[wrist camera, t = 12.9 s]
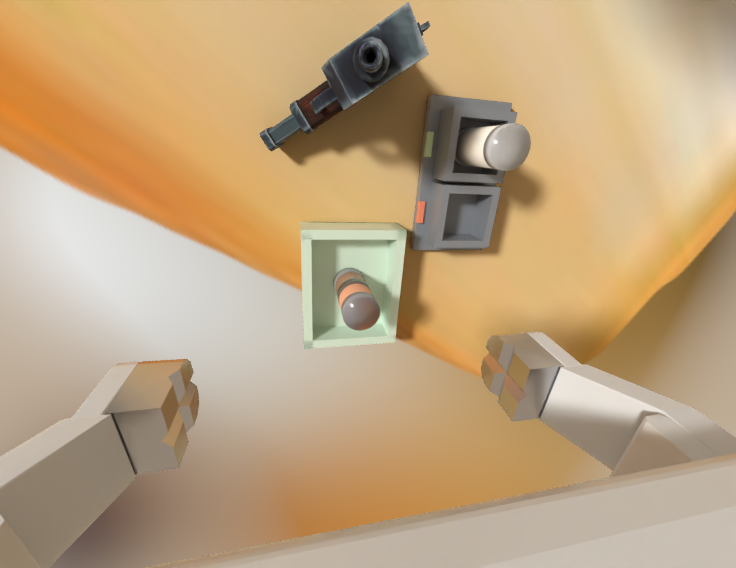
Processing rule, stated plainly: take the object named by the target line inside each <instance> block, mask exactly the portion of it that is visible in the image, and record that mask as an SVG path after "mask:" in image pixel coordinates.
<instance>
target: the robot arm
mask: <svg viewBox="0 0 736 568" xmlns="http://www.w3.org/2000/svg"><path fill="white" fill-rule="evenodd" d="M486 348H487V350H488V351H489V354H488V355H487V356H486V357H485V358H484V359H483V362H482V366H481V372H482V378H483V381H484V383H485V385H486V387H487V388H488V389H489V391H491V392H492V393H494V394H496V395H498V396H499V400H498V403H499V404H500V406H501V407H502V408H503V410H504V411H505V412H506V414H507V415H508V417H509V418H510V419H511V421H521V420H530V419H539V418H540V420H541V421H542V422H543V423H545V424H546V425H548V426H549V427H550V428H552V429H553V430H555V431H556V432H558V433H559V434H561V435H562V436H563V437H565V438H566V439H568V440H569V441H571V442H572V443H574V444H575V445H576V446H578V447H579V448H581V449H582V450H584V451H585V452H587V453H588V454H589V455H591V456H592V457H594V458H595V459H597V460H598V461H600V462H601V463H602V464H604V465H605V466H607V467H608V468H610V469H611V470H613V472H612V473H611V475H610V477H609V478H604V479H598V480H593V481H588V482H583V483H578V484H573V485H568V486H562V487H557V488H552V489H547V490H542V491H537V492H532V493H526V494H521V495H516V496H511V497H506V498H501V499H496V500H491V501H485V502H481V503H475V504H470V505H465V506H460V507H455V508H449V509H444V510H439V511H434V512H429V513H423V514H419V515H413V516H408V517H403V518H398V519H393V520H387V521H382V522H378V523H372V524H367V525H362V526H356V527H352V528H346V529H341V530H336V531H331V532H325V533H320V534H315V535H310V536H305V537H300V538H294V539H289V540H284V541H279V542H274V543H269V544H263V545H258V546H253V547H248V548H243V549H238V550H232V551H228V552H222V553H217V554H212V555H207V556H201V557H196V558H191V559H186V560H181V561H176V562H170V563H165V564H160V565H155V566H150V567H145V568H736V438H735V437H734V436H732V435H731V434H730V433H728V432H727V431H725V430H724V429H722V428H721V427H720V426H718V425H717V424H715V423H714V422H713V421H711V420H710V419H708V418H707V417H706V416H704V415H703V414H701V413H700V412H699V411H697V410H696V409H694V408H692V407H690V406H688V405H685V404H683V403H680V402H678V401H675V400H673V399H670V398H668V397H666V396H663V395H661V394H658V393H656V392H653V391H651V390H648V389H646V388H644V387H641V386H639V385H636V384H634V383H631V382H629V381H626V380H624V379H621V378H619V377H616V376H614V375H612V374H609V373H607V372H604V371H602V370H599V369H597V368H595V367H592V366H589V365H587V364H584V365H582V364H580V363H579V362H578V361H577V360H576V359H574V358H573V357H572V356H571V355H570V354H568V353H567V352H566V351H565V350H564V349H562V348H561V347H560V346H559V345H557V344H556V343H555V342H554V341H553V340H551V339H550V338H549V337H548V336H547V335H545V334H544V333H542V332H539V331H532V332H523V333H518V334H505V335H493V336H491V337H490V338H489V340H488V342H487V346H486ZM192 374H193V368H192V365H191V362H190V361H189V360H188V359H178V360H161V361H144V362H130V363H118V364H116V365H114V366H112V367H111V368H110V370H109V371H108V372H107V374H106V375H105V376H104V377H103V378H102V380H101V381H100V382H99V384H98V385H97V386H96V387H95V389H94V390H93V391H92V393H91V394H90V395H89V396H88V398H87V399H86V400H85V402H84V403H83V404H82V405H81V407H80V408H79V409H78V410H77V412H76V413H75V414H74V416H73V417H72V418H69V419H62V420H61V421H59V422H57V423H56V424H54V425H52V426H51V427H49V428H47V429H46V430H44V431H42V432H41V433H39V434H37V435H36V436H34V437H32V438H31V439H29V440H27V441H26V442H24V443H23V444H21V445H19V446H17V447H16V448H14V449H12V450H11V451H9V452H8V453H6V454H4V455H2V456H1V457H0V568H49V567H50V566H51V565H52V564H53V563H54V562H55V561H56V560H57V559H58V558H59V557H60V556H61V555H62V553H64V552H65V551H66V550H67V549H68V548H69V547H70V546H71V544H72V543H73V542H74V541H75V540H76V539H77V538H78V537H79V536H80V535H81V534H82V533H83V532H84V531H85V530H86V529H87V528H88V527H89V526H90V525H91V524H92V523H93V522H94V520H96V519H97V518H98V517H99V515H100V514H101V513H102V512H103V511H104V510H105V509H106V508H107V507H108V506H109V505H110V504H111V503H112V502H113V501H114V500H115V499H116V498H117V497H118V496H119V495H120V494H121V493H122V491H124V489H126V487H127V486H128V485H129V484H130V483H131V482H132V481H133V480H134V479H135V478H136V475H140V474H146V473H152V472H158V471H164V470H170V469H176V468H180V465H181V462H182V459H183V456H184V453H185V450H186V447H187V445H188V442H189V441H188V438H187V434H186V432H187V431H188V430H190V429H191V428H192V427H193V426H194V424H195V421H196V418H197V415H198V407H199V395H198V389H197V386H196V385H195V384H193V383H192V382H191V381H190V380H191V377H192Z"/></svg>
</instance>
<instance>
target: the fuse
mask: <svg viewBox="0 0 736 568" xmlns="http://www.w3.org/2000/svg"><path fill="white" fill-rule="evenodd" d="M530 144H531V141H530V135H529V133H528V131H527V129H526V128H525V127H524V126H522V125H520V124H517V123H512V124H503V125H497V126H487V127H476V128H475V127H470V128H463V129H461V130H459V134H458V141H457V147H456V154H455V160H454V162H455V163H456V164H458V165H463V166H475V167H484V168H492V169H495V170H503V171H510V170H513V169H516V168H517V167H519V166H520V165H521V164H522V163H523V162H524V161H525V159H526V157H527V155H528V153H529V150H530Z"/></svg>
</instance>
